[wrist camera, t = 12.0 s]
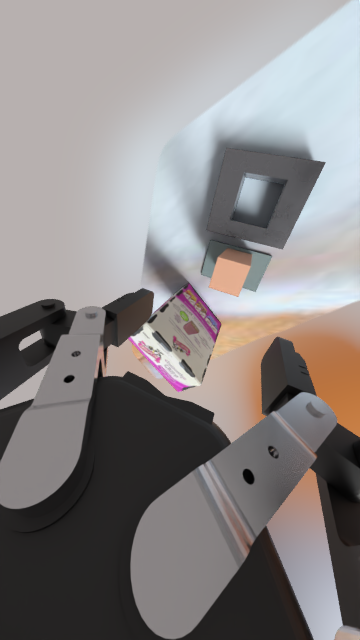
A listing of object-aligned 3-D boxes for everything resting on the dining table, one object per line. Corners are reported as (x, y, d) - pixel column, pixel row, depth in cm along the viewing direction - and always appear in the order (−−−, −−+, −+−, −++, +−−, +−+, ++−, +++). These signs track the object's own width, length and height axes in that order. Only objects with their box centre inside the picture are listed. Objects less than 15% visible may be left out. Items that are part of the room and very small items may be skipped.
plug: (252, 254, 27) (250, 266, 20) (242, 278, 29) (238, 296, 22) (227, 247, 28) (217, 256, 21) (220, 271, 30) (208, 287, 23)
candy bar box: (172, 295, 37) (124, 337, 23) (188, 281, 34) (145, 320, 20) (204, 334, 38) (176, 394, 25) (222, 324, 35) (202, 386, 22)
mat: (271, 256, 27) (272, 256, 26) (255, 290, 30) (255, 291, 30) (210, 239, 29) (210, 240, 28) (201, 274, 32) (201, 274, 32)
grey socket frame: (317, 169, 21) (325, 162, 18) (280, 246, 26) (282, 249, 23) (229, 155, 23) (226, 147, 21) (210, 229, 28) (206, 230, 26)
